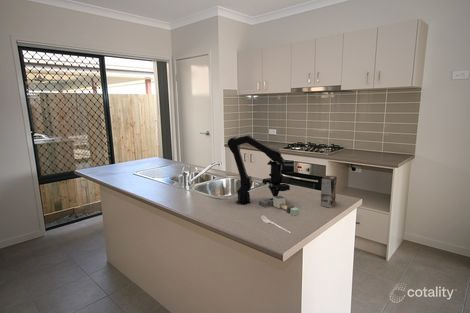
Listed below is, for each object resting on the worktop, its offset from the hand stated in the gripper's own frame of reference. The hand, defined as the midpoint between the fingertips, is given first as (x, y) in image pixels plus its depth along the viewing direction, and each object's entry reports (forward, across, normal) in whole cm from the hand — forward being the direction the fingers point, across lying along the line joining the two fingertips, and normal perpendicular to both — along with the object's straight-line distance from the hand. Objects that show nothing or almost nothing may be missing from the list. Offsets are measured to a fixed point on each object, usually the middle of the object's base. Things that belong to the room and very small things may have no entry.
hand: (275, 198), depth 164 cm
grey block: (+4, -4, 0) cm, 5 cm away
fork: (+4, -22, +17) cm, 29 cm away
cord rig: (+4, -7, 0) cm, 8 cm away
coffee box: (+4, -16, -26) cm, 31 cm away
